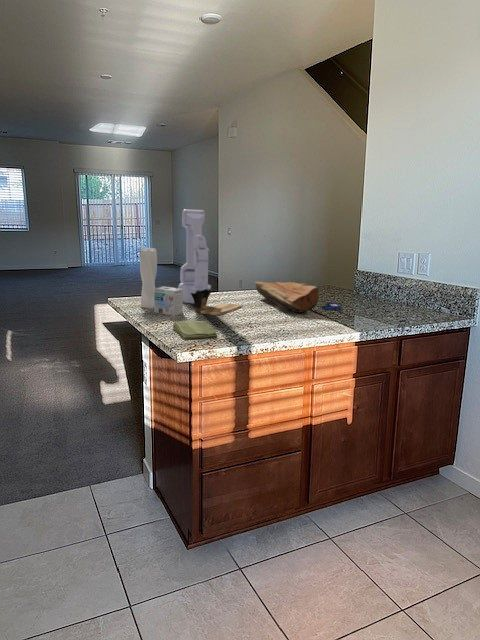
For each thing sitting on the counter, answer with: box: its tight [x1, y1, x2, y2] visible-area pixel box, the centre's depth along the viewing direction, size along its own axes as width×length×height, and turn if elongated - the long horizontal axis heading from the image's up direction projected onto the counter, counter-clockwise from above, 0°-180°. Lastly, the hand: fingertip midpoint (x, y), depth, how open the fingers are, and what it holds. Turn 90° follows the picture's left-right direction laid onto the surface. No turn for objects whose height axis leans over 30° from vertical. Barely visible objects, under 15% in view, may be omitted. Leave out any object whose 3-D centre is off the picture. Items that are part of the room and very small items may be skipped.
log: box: [254, 281, 320, 313], centre depth 226 cm, size 42×18×15 cm, turn 16°
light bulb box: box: [153, 286, 184, 317], centre depth 200 cm, size 11×7×11 cm, turn 62°
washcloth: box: [172, 321, 218, 340], centre depth 170 cm, size 13×18×3 cm
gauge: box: [194, 297, 222, 313], centre depth 205 cm, size 12×4×7 cm, turn 65°
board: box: [200, 302, 243, 317], centre depth 211 cm, size 9×23×1 cm, turn 155°
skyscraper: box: [139, 244, 158, 309], centre depth 210 cm, size 8×8×28 cm
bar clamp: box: [321, 301, 353, 319], centre depth 216 cm, size 32×2×10 cm
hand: (200, 307), depth 207 cm, fingers closed on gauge, 4 cm apart
